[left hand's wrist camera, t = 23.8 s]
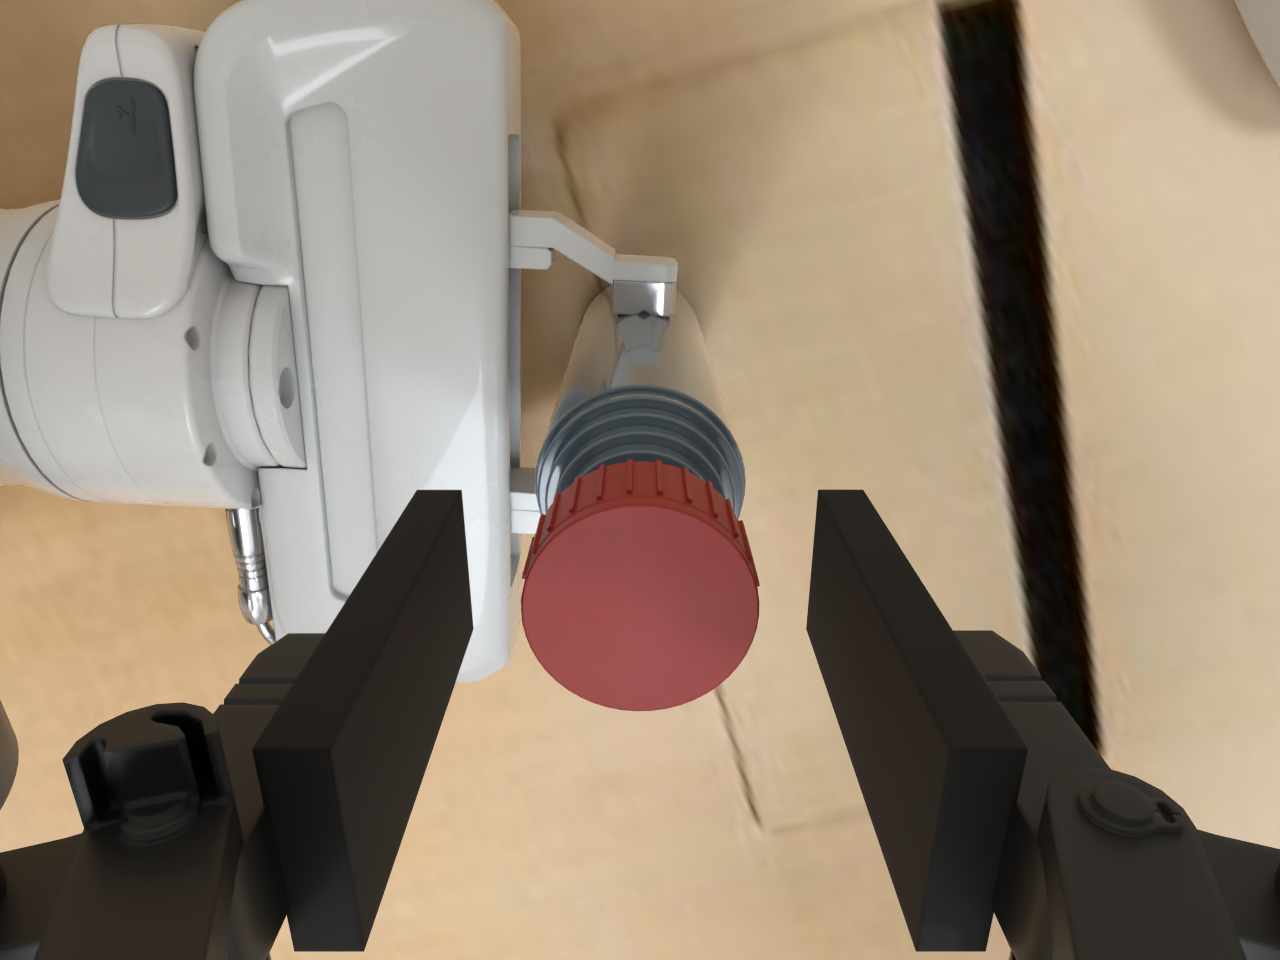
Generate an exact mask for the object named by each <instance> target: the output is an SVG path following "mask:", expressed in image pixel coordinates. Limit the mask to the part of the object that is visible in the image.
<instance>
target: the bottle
mask: <svg viewBox="0 0 1280 960" xmlns="http://www.w3.org/2000/svg"><path fill="white" fill-rule="evenodd" d="M613 293H614V284H613V285H611V286H609V287H607V288H606V289H604V290H603V291H602V292H600V293H599V294H598V295H597V296H596V297H595V298H594V299H593V301H592V302H591V303H590V305H589V306H588V308H587V310H586V312H585V314H584V317H583V319H582V322H581V325H580V328H579V331H578V335H577V338H576V341H575V344H574V347H573V350H572V353H571V356H570V360H569V363H568V366H567V369H566V372H565V375H564V378H563V381H562V385H561V388H560V391H559V394H558V397H557V400H556V403H555V406H554V410H553V413H552V416H551V419H550V422H549V425H548V428H547V431H546V434H545V438H544V441H543V444H542V447H541V450H540V453H539V457H538V461H537V465H536V473H535V492H536V498H537V503H538V507H539V510H540V514H544V515H545V514H546V512H547V510H548V509H549V507H550V506H551V505H552V503H553V499H554V495H555V494H556V493H559V494H561V493H562V492H563V491H564V490H565V489H566V488H567V487H568V486H570V485H571V484H572V483H574V480H575V477H577V476H579V477H580V478H581V477H583V476H585V475H586V474H588V473H590V472H593V471H595V470H597V469H599V468H600V465H603V464H605V467H606V466H610V465H613V464H618V463H625V462H627V460H628V459H633V462H638V461H646V462H656V460H661V463H662V464H667V465H671V466H675V467H677V468H680V469H683V468H684V467H686V468H688V470H689V472H690V473H692V474H694V475H696V476H698V477H699V478H701V479H702V480H704V481H705V482H707V481H708V480H709V481H711V482H712V484H713V488H714V489H715V490H716V491H718V492H719V493H720V494H721V495H722V497H723V498H724V499H725V500H726V499H729V500H730V501H731V504H732V508H733V511H734V513H735V515H736V517H737V519H738V518H739V516H740V512H741V508H742V504H743V500H744V495H745V469H744V464H743V460H742V455H741V452H740V449H739V446H738V443H737V440H736V437H735V434H734V430H733V427H732V424H731V421H730V418H729V415H728V412H727V409H726V406H725V402H724V399H723V396H722V393H721V390H720V387H719V384H718V381H717V378H716V374H715V371H714V368H713V365H712V362H711V359H710V356H709V353H708V350H707V346H706V343H705V340H704V337H703V334H702V331H701V328H700V325H699V322H698V319H697V316H696V313H695V311H694V310H693V308H692V306H691V305H690V303H689V302H688V300H687V299H686V298H685V297H684V296H683V295H682V294H681V293H680V292H679V291H677V290H676V300H675V311H674V315H673V316H669V317H657V316H651V315H650V314H648V313H647V312H646V311H645V310H644V311H642V312H641V313H639V314H638V315H620V314H613Z"/></svg>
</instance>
